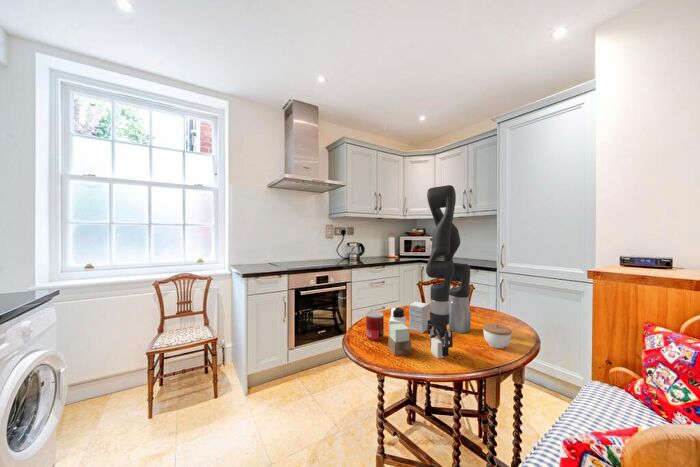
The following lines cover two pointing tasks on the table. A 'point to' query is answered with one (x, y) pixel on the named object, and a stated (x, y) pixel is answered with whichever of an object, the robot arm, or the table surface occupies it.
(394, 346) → the walnut base block
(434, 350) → the cream block
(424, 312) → the supplement box
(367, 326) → the canned food
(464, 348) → the table surface
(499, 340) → the lidded jar
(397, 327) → the sage block
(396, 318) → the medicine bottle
